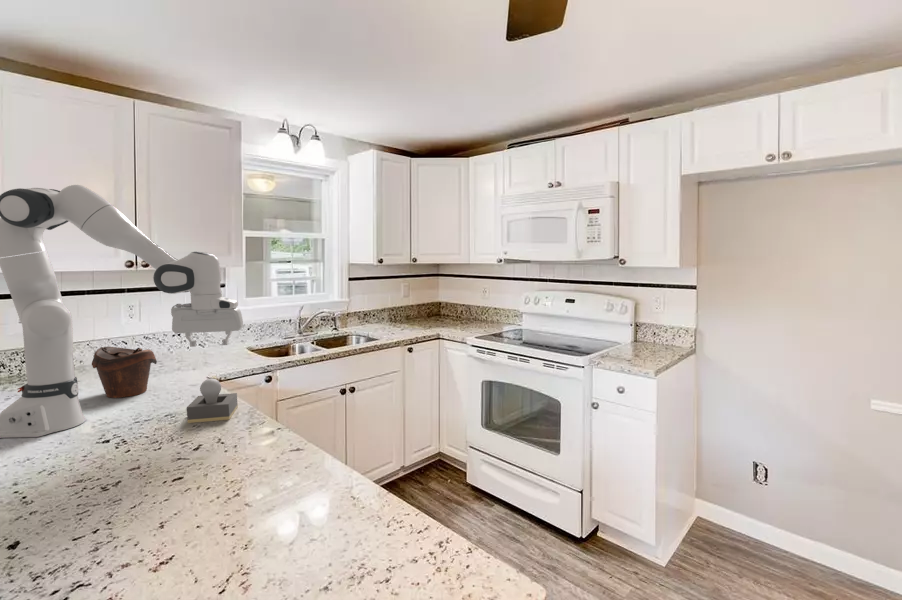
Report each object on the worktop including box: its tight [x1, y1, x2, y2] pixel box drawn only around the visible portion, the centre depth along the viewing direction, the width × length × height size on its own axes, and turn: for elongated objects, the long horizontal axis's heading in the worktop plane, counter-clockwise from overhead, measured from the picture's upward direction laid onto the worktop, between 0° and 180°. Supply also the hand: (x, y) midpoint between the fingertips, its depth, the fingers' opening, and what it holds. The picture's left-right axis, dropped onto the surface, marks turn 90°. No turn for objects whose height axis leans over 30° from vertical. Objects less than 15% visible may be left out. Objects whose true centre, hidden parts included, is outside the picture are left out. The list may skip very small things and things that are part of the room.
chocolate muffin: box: [91, 346, 158, 399], centre depth 174 cm, size 18×20×18 cm
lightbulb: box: [199, 378, 222, 404], centre depth 149 cm, size 6×6×11 cm
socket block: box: [186, 392, 239, 424], centre depth 150 cm, size 12×12×5 cm
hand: (209, 345), depth 148 cm, fingers open, 8 cm apart
